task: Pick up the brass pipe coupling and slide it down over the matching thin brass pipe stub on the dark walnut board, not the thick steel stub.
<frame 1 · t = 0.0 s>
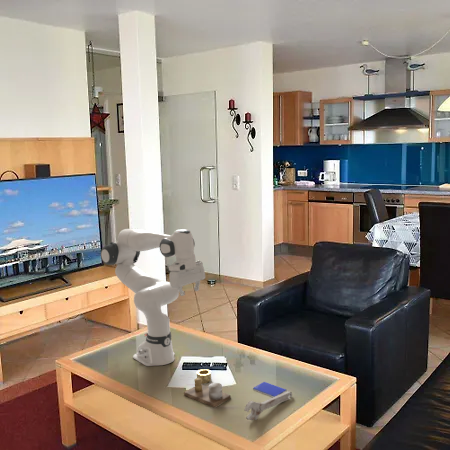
hand: (189, 293, 253), 39 cm above the table, tool pointing down, fingers open, 8 cm apart
coupling: (204, 380, 249), on the table
hard drive: (269, 392, 237), on the table
stub board: (207, 396, 233), on the table
wrench: (269, 410, 220), on the table
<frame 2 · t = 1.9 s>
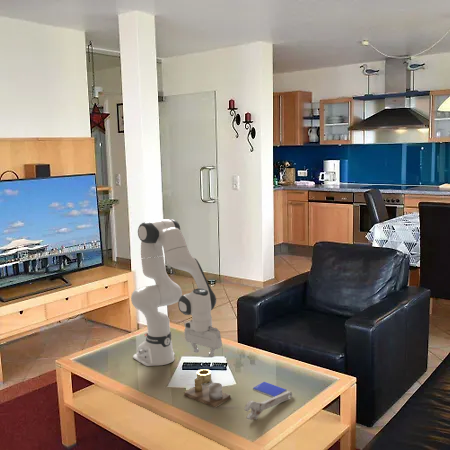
hand: (203, 354, 247), 13 cm above the table, tool pointing down, fingers open, 8 cm apart
nothing on the table moved.
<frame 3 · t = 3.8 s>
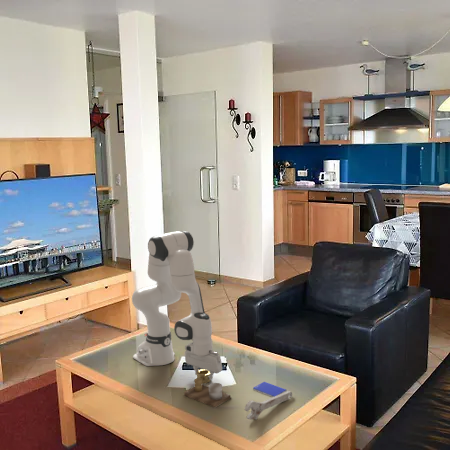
hand: (204, 377, 249), 2 cm above the table, tool pointing down, fingers closed on coupling, 6 cm apart
coupling: (204, 380, 249), on the table, touching gripper
everything else where it was.
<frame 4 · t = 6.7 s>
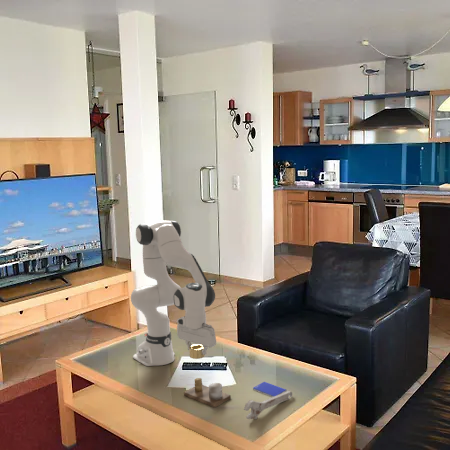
hand: (197, 352, 233), 19 cm above the table, tool pointing down, fingers closed on coupling, 6 cm apart
coupling: (197, 355, 233), point 17 cm above the table, touching gripper
everything else where it was.
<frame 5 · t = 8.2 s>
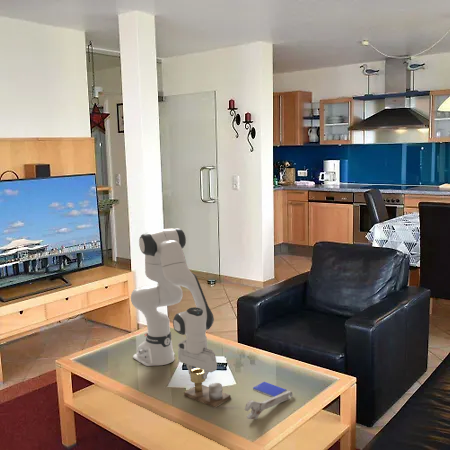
hand: (198, 376, 235), 8 cm above the table, tool pointing down, fingers closed on coupling, 6 cm apart
coupling: (198, 379, 235), point 6 cm above the table, touching gripper
everything else where it was.
when the fingers open (5 cm above the table, at t = 9.7 s): coupling drops 2 cm, resting on stub board.
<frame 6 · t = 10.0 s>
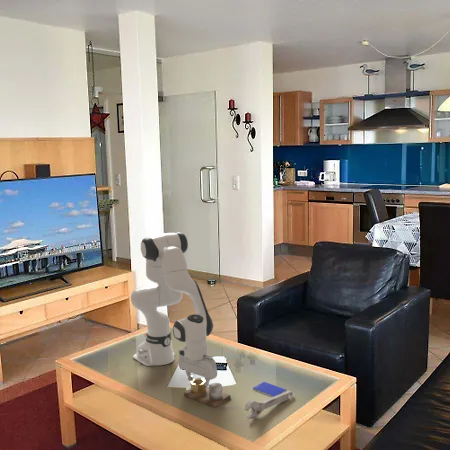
hand: (198, 383, 235), 5 cm above the table, tool pointing down, fingers open, 8 cm apart
coupling: (198, 390, 236), point 1 cm above the table, touching stub board
everything else where it was.
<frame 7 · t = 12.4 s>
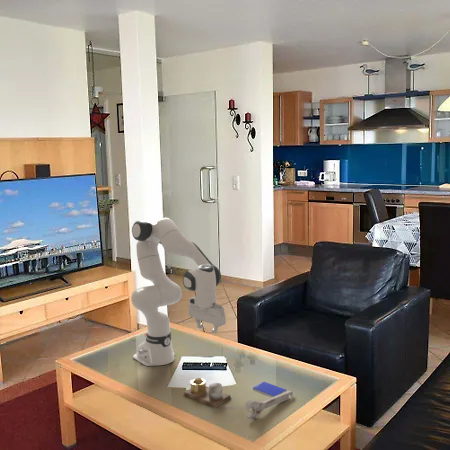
hand: (207, 330, 246), 24 cm above the table, tool pointing down, fingers open, 8 cm apart
nothing on the table moved.
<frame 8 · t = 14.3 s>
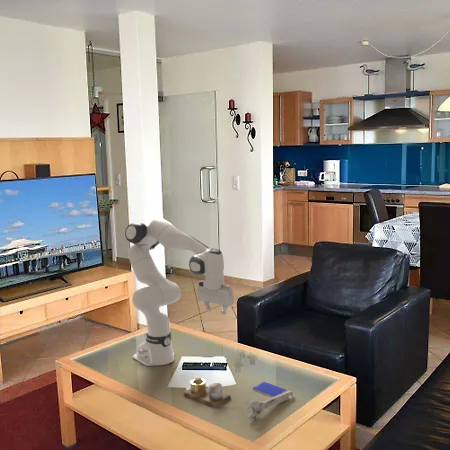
hand: (216, 312, 255), 29 cm above the table, tool pointing down, fingers open, 8 cm apart
nothing on the table moved.
at the end: coupling 0.1 cm from the target spot on the stub board, point 1.5 cm above the stub board's base; coupling tilted 0°; the gripper is holding nothing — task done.
